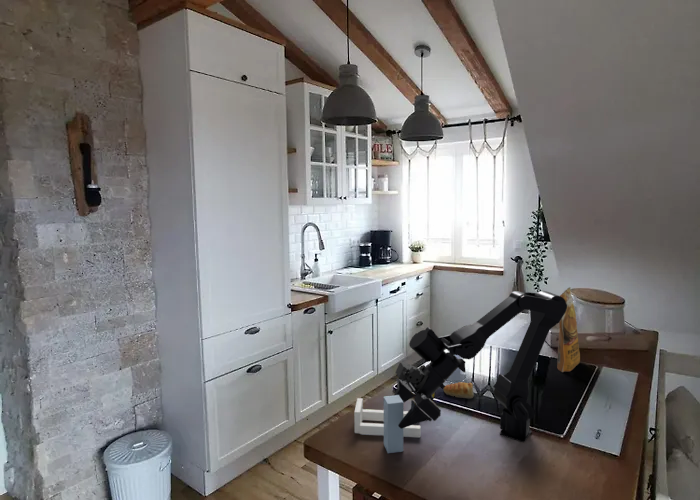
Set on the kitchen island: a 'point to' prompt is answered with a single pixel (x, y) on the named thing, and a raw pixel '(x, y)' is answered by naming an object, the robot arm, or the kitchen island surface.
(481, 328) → the robot arm
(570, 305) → the pancake mix bag
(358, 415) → the track
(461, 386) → the pastry
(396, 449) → the blue gray block
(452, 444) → the kitchen island surface
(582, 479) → the kitchen island surface
